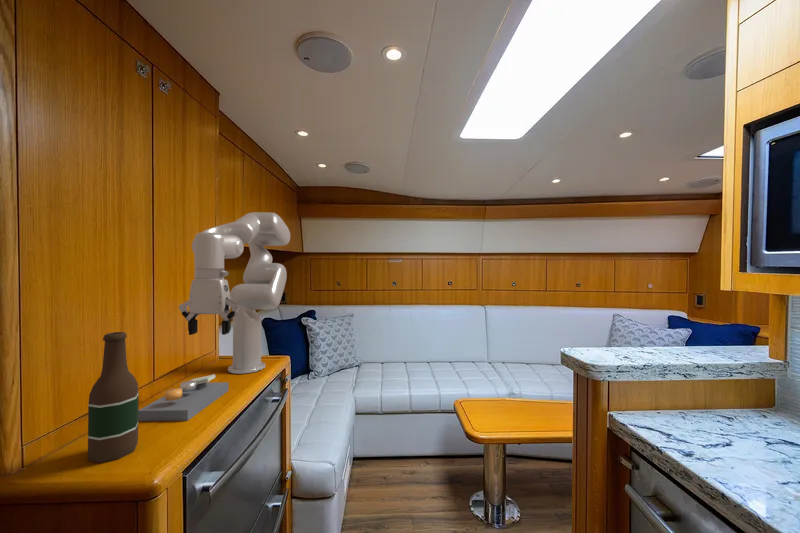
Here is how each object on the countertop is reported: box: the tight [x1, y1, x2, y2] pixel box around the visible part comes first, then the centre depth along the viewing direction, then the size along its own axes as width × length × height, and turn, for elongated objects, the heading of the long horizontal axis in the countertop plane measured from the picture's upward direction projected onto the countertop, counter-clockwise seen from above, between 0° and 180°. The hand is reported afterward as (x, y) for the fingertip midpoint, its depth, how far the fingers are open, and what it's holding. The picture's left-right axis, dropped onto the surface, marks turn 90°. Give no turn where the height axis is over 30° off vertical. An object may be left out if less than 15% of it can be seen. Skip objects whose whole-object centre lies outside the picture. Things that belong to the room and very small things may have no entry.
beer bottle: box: [87, 331, 140, 464], centre depth 66 cm, size 8×8×24 cm
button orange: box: [164, 387, 182, 401], centre depth 84 cm, size 4×4×2 cm
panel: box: [138, 381, 230, 422], centre depth 90 cm, size 20×12×4 cm, turn 1°
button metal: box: [179, 380, 196, 392], centre depth 90 cm, size 4×4×2 cm
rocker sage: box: [189, 373, 216, 385], centre depth 96 cm, size 4×6×1 cm, turn 91°
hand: (209, 333), depth 96 cm, fingers open, 9 cm apart
